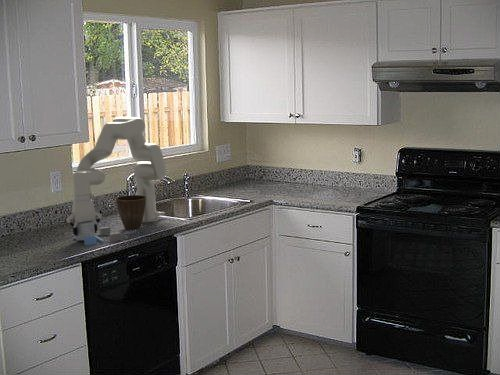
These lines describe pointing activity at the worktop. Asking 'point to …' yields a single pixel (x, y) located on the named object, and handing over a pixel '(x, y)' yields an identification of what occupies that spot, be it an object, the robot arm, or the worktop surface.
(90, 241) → the blue duct
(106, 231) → the grey duct
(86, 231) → the medicine box
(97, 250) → the worktop surface
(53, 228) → the worktop surface
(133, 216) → the plant pot
